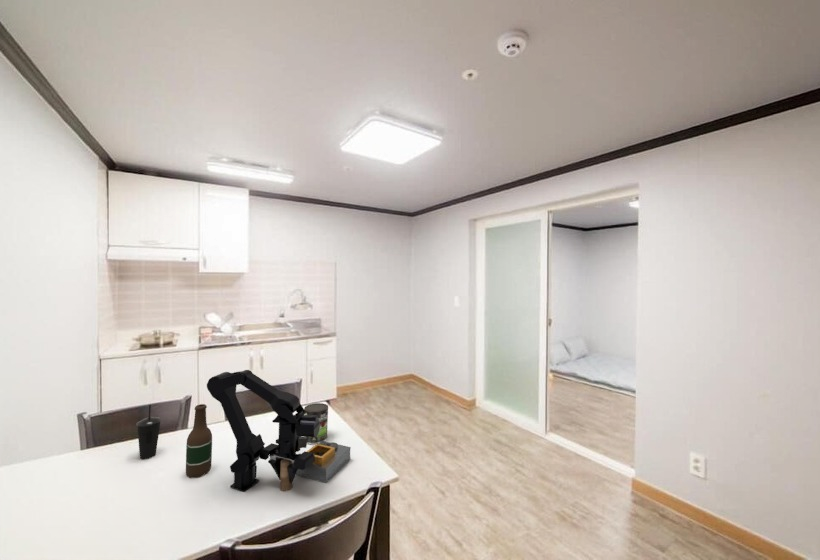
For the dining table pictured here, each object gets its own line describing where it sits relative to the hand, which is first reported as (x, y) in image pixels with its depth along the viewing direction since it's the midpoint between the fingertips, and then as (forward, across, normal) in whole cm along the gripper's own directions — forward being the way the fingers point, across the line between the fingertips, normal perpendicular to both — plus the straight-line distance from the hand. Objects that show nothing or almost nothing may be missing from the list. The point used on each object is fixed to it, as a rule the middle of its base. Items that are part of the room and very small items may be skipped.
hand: (286, 481), depth 109 cm
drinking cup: (+2, +63, +5) cm, 63 cm away
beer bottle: (+2, +35, +5) cm, 35 cm away
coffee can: (+2, +12, -32) cm, 34 cm away
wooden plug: (+2, 0, 0) cm, 2 cm away
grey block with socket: (+2, -4, -15) cm, 16 cm away
